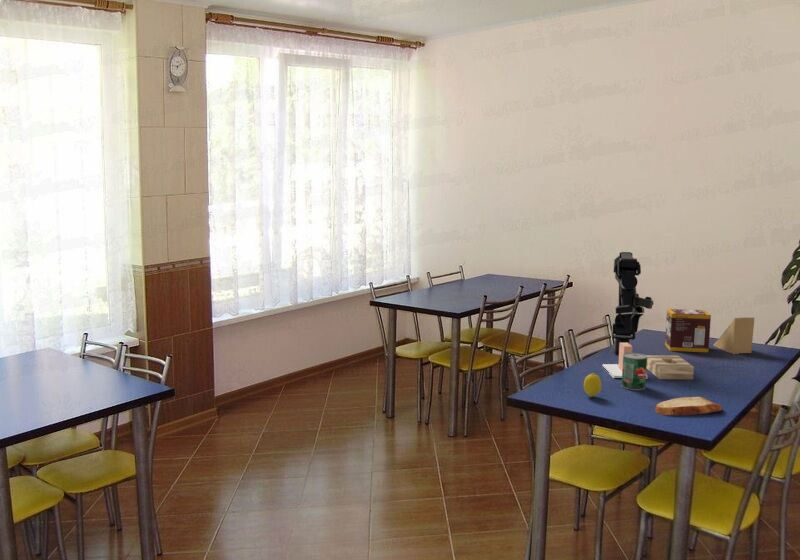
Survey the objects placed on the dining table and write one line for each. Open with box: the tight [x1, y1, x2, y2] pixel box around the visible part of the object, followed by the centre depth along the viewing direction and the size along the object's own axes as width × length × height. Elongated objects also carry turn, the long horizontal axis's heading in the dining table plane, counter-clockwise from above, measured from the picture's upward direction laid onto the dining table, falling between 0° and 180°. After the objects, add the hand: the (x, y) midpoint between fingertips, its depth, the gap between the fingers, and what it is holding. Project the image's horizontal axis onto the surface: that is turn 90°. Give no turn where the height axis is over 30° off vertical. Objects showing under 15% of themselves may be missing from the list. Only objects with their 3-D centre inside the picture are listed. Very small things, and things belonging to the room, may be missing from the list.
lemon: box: [583, 372, 602, 398], centre depth 254 cm, size 6×6×8 cm
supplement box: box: [664, 308, 712, 353], centre depth 320 cm, size 10×15×16 cm
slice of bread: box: [654, 396, 723, 416], centre depth 241 cm, size 18×18×4 cm
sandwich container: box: [713, 317, 755, 355], centre depth 320 cm, size 9×15×15 cm, turn 8°
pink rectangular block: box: [618, 343, 633, 371], centre depth 283 cm, size 6×3×10 cm, turn 0°
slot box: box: [645, 354, 695, 380], centre depth 283 cm, size 16×12×4 cm
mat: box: [601, 363, 649, 380], centre depth 284 cm, size 16×12×1 cm
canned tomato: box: [621, 352, 648, 391], centre depth 265 cm, size 8×8×11 cm
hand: (632, 332), depth 293 cm, fingers open, 9 cm apart
